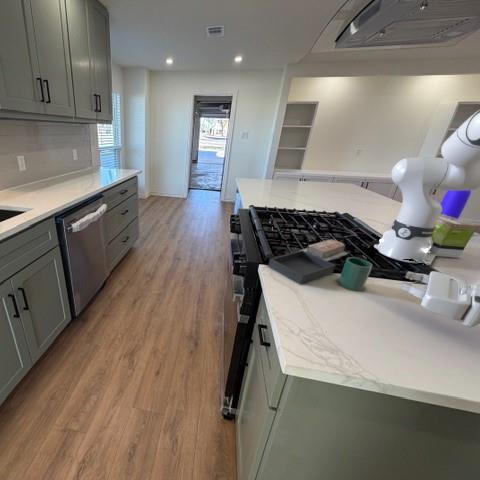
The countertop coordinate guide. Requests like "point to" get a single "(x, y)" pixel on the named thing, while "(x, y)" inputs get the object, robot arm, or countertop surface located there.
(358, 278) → the enamel cup
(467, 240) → the tea box
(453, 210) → the bottle
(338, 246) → the packaged product
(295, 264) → the baking tray
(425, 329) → the countertop surface
